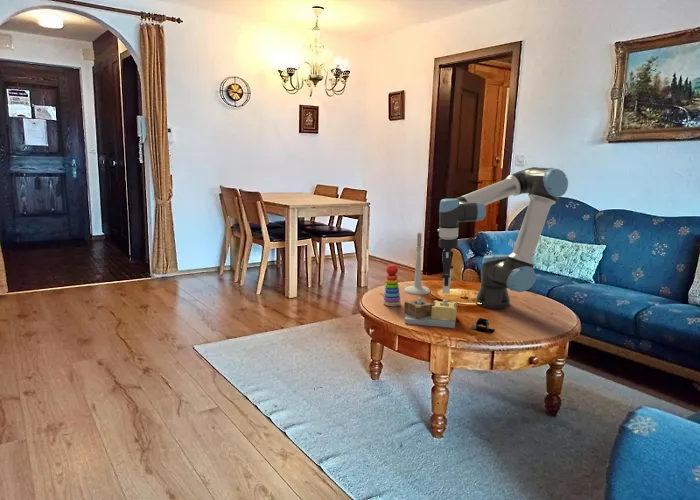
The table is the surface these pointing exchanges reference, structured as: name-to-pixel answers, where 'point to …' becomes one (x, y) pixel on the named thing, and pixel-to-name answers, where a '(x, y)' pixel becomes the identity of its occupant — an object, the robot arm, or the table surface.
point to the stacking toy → (392, 287)
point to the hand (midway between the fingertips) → (446, 288)
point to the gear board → (430, 319)
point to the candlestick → (418, 273)
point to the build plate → (480, 328)
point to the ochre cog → (444, 310)
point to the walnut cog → (418, 309)
